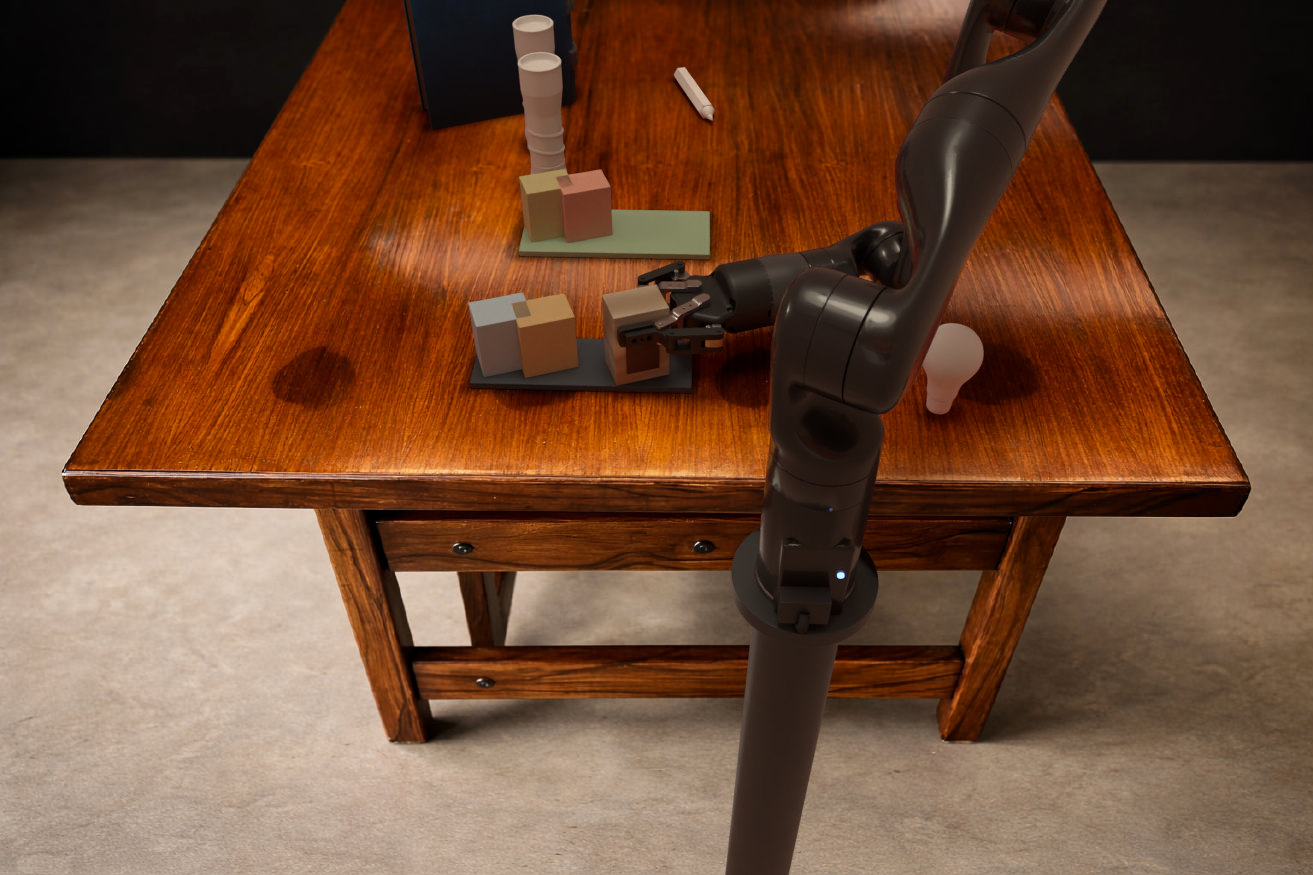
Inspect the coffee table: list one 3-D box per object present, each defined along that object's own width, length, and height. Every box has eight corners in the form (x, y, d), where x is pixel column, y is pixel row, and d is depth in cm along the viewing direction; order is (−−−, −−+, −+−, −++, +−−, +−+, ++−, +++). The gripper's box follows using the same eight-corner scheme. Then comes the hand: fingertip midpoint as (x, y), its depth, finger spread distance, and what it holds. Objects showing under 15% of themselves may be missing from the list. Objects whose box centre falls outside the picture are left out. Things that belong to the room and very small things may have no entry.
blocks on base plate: (691, 393, 110) (693, 337, 105) (470, 388, 111) (460, 332, 106) (692, 346, 116) (693, 290, 111) (481, 341, 117) (472, 286, 111)
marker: (711, 131, 153) (678, 83, 164) (723, 123, 153) (689, 76, 163) (703, 118, 151) (671, 71, 162) (715, 110, 151) (682, 63, 162)
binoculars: (571, 197, 139) (563, 69, 126) (531, 200, 138) (518, 72, 125) (560, 135, 151) (551, 13, 138) (523, 138, 150) (511, 16, 138)
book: (568, 78, 164) (553, -130, 143) (586, 101, 158) (573, -111, 137) (419, 105, 158) (381, -108, 137) (432, 130, 152) (394, -88, 131)
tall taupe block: (670, 376, 111) (670, 309, 105) (617, 387, 110) (614, 320, 103) (656, 350, 114) (656, 284, 108) (605, 361, 113) (601, 294, 107)
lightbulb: (978, 417, 108) (1003, 336, 100) (935, 439, 105) (956, 357, 98) (938, 385, 111) (958, 303, 104) (895, 405, 109) (913, 323, 101)
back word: (709, 260, 128) (711, 205, 123) (518, 256, 129) (512, 202, 123) (709, 216, 135) (711, 163, 130) (528, 213, 136) (523, 160, 130)
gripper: (740, 227, 112) (591, 255, 109) (792, 302, 103) (630, 335, 99) (736, 283, 118) (594, 311, 114) (785, 359, 108) (631, 393, 104)
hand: (611, 322), depth 107 cm, fingers closed on tall taupe block, 4 cm apart
